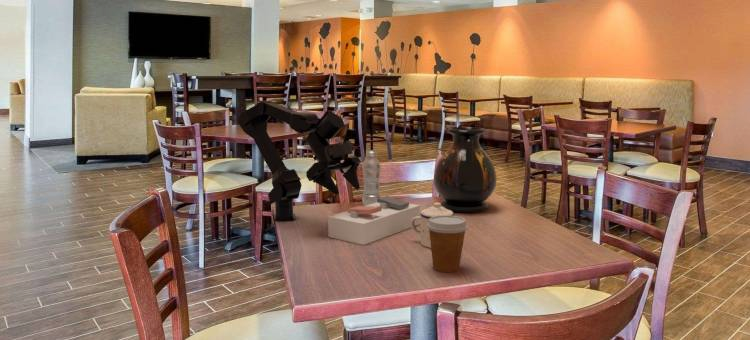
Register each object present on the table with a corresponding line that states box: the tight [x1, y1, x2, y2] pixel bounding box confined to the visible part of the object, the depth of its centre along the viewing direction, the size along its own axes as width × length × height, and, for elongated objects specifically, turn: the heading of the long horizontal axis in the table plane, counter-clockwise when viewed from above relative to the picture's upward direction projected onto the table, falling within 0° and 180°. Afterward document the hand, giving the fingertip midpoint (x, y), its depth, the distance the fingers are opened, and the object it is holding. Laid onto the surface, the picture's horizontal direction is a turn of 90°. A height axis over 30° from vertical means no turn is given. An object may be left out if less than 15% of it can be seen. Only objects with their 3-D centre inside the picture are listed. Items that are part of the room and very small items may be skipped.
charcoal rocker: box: [377, 195, 410, 209], centre depth 174 cm, size 8×5×1 cm, turn 53°
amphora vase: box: [433, 126, 497, 214], centre depth 197 cm, size 22×22×28 cm
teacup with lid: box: [411, 201, 455, 249], centre depth 156 cm, size 12×9×12 cm
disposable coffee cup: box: [427, 215, 468, 273], centre depth 136 cm, size 10×10×12 cm
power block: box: [327, 202, 421, 246], centre depth 170 cm, size 13×28×8 cm, turn 143°
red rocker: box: [347, 205, 382, 214], centre depth 163 cm, size 8×5×1 cm, turn 52°
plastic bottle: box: [361, 149, 382, 206], centre depth 198 cm, size 6×7×20 cm
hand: (348, 191), depth 165 cm, fingers open, 9 cm apart
